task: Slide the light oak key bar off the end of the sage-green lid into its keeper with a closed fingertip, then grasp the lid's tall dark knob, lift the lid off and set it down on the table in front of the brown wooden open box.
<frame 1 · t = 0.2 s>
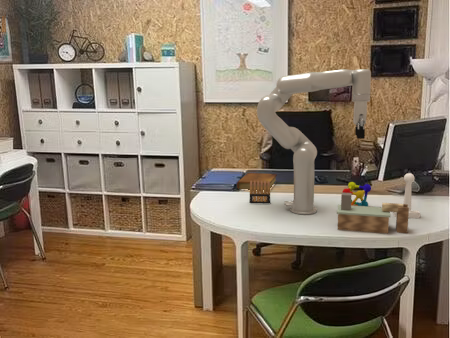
hand: (359, 136, 201), 36 cm above the table, tool pointing down, fingers open, 9 cm apart
molecular model: (355, 208, 220), on the table
joystick: (405, 215, 207), on the table
key: (392, 207, 186), point 10 cm above the table, slide at 0.0 cm
ammunition clip: (259, 203, 230), on the table
diary: (257, 187, 266), on the table
brown wooden open box: (362, 227, 192), on the table
lid: (363, 211, 190), point 7 cm above the table, touching brown wooden open box
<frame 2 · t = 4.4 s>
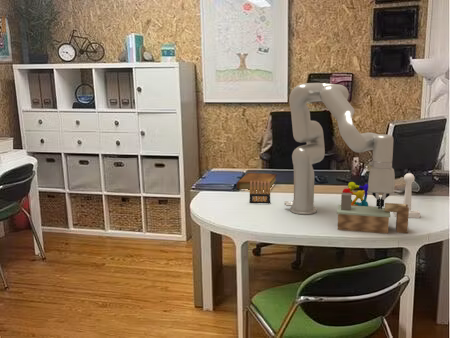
hand: (380, 208, 188), 9 cm above the table, tool pointing down, fingers closed
key: (395, 207, 186), point 10 cm above the table, slide at 1.0 cm, touching gripper
everything else where it was.
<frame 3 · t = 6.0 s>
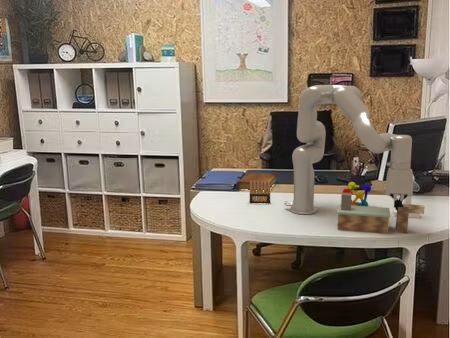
hand: (397, 209, 186), 9 cm above the table, tool pointing down, fingers closed
key: (413, 208, 184), point 10 cm above the table, slide at 8.0 cm, touching gripper
everything else where it was.
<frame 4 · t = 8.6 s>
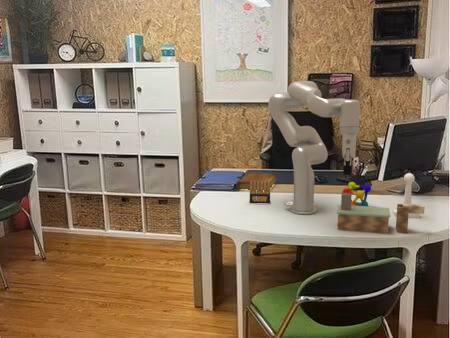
hand: (347, 173, 189), 23 cm above the table, tool pointing down, fingers open, 3 cm apart
key: (413, 208, 184), point 10 cm above the table, slide at 8.0 cm
everything else where it was.
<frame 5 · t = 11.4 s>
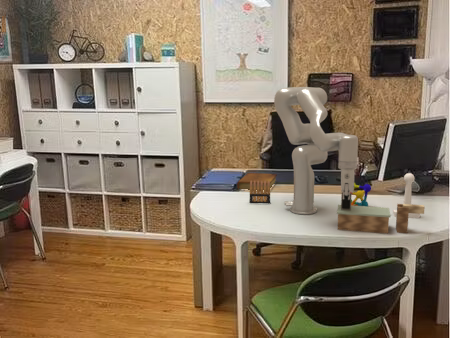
hand: (346, 206, 192), 9 cm above the table, tool pointing down, fingers closed on lid, 4 cm apart
lid: (363, 211, 190), point 7 cm above the table, touching gripper, brown wooden open box
everything else where it was.
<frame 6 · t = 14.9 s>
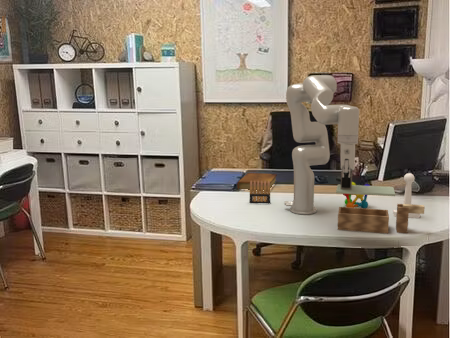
hand: (346, 185, 175), 22 cm above the table, tool pointing down, fingers closed on lid, 4 cm apart
lid: (365, 191, 173), point 20 cm above the table, touching gripper
everything else where it was.
when the fingers open (3 cm above the table, at t = 18.4 s): lid drops 2 cm, on the table.
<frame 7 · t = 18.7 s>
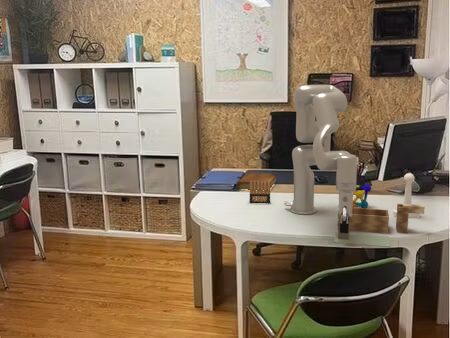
hand: (344, 229, 179), 4 cm above the table, tool pointing down, fingers open, 7 cm apart
lid: (361, 240, 178), on the table
everything else where it was.
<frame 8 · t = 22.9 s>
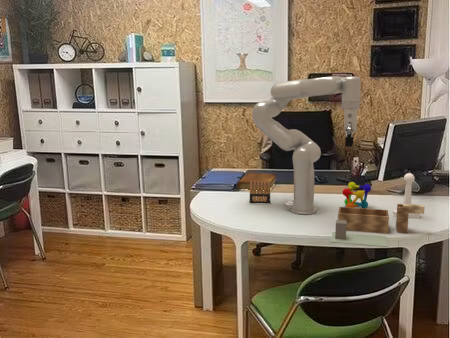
hand: (349, 144, 199), 33 cm above the table, tool pointing down, fingers open, 9 cm apart
lid: (358, 240, 178), on the table
everything else where it was.
at the end: key slide at 8.0 cm; lid inside the target area (1.7 cm from its centre), on the table; lid touching table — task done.
